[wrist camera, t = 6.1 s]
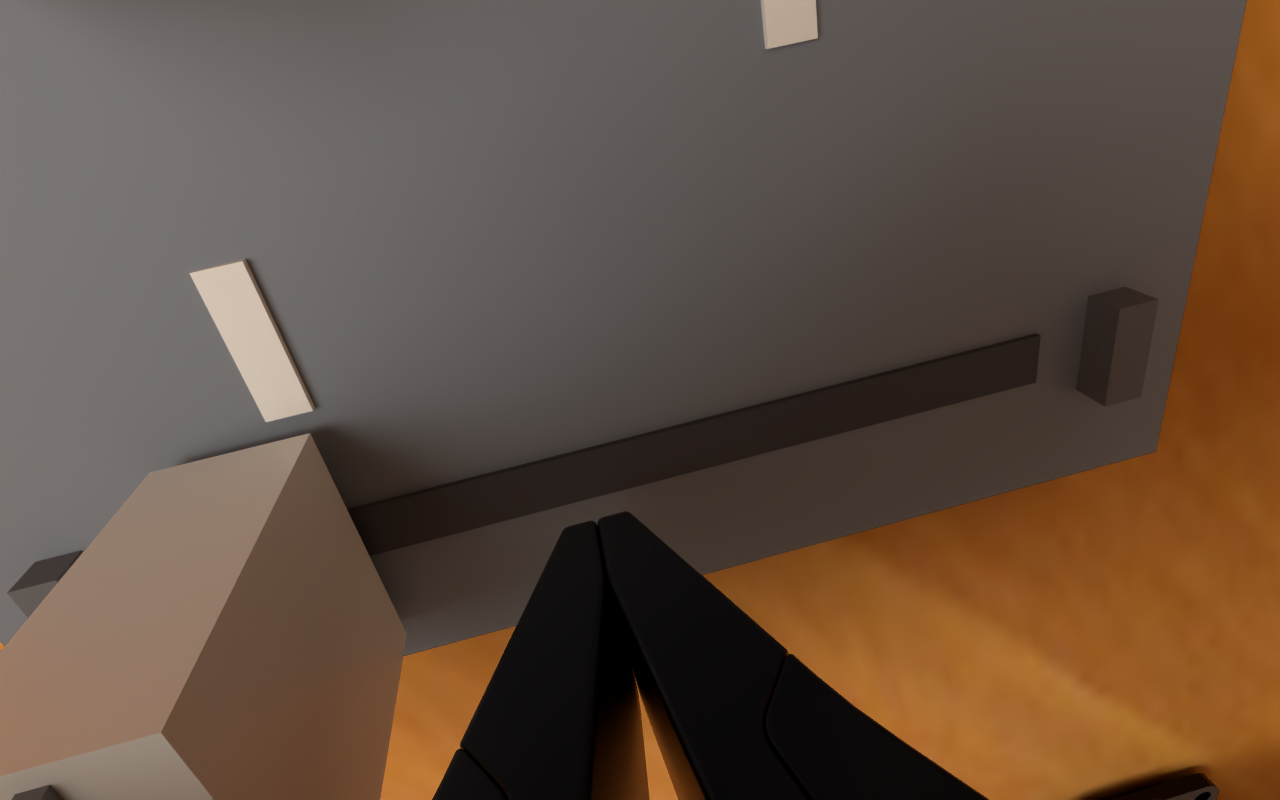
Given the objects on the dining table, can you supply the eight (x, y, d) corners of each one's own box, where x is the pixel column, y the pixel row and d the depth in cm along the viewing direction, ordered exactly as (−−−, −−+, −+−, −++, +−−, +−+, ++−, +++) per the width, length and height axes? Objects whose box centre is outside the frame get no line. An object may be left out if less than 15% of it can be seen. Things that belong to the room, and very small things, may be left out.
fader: (406, 632, 11) (350, 985, 7) (273, 669, 10) (132, 1053, 6) (310, 432, 9) (156, 744, 5) (149, 472, 9) (-148, 826, 5)
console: (1090, 412, 13) (1185, 469, 11) (133, 666, 12) (67, 777, 10) (1268, -824, 7) (1558, -1155, 5) (-804, -553, 5) (-1472, -863, 4)
